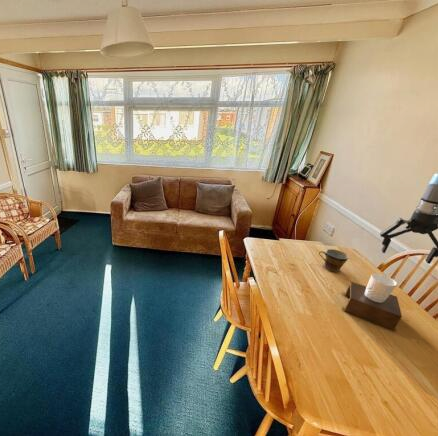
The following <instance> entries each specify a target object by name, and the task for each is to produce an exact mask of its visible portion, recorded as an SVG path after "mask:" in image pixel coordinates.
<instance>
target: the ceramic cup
mask: <svg viewBox="0 0 438 436" xmlns="http://www.w3.org/2000/svg"><path fill="white" fill-rule="evenodd" d="M321 253H323V254H324V256H325V258H324V257H323V256H322V255H321ZM318 255H319V256H320V257H321V258H322V260H323V261H324V268H325V270H328V271H330V272H334V273H337V272H339V271H340V270H341V269H342V267H343V266H344V265H345V264H346V263H347V261H348V259H349V255H348V254H347V253H345V252H344V251H341V250H338V249H333V248H329V249H326V251H322V250H321V251H319V252H318Z"/></svg>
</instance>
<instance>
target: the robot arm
mask: <svg viewBox="0 0 438 436" xmlns="http://www.w3.org/2000/svg"><path fill="white" fill-rule="evenodd" d="M405 224H406V225H405ZM403 225H405V226H403ZM401 226H403V227H402V228H400V227H401ZM398 228H400V229H398ZM436 230H438V172H436V173H434V174H433V175H432V177H431V179H430V181H429V182H428V183H427V186H426V187H425V189H424V192H423V193H422V196H421V198H420V200H419V201H418V204H417V205H416V206H415V210H414V211H413V213H412V214H411V216H410V218H409V219H403V218H402V217H399V218H397V220H396V222H394V223H393V224H391V225H390V226H388V227H387V228H385V229H384V230H382V231H381V232H380V233H379V235H380V237H381V238H382V239H383V240H382V241H381V245H382V248H381V253H382V254H386V251H387V249H388V248H389V246H390V244H391V242H392V239H393V238H395V237H398V236H401V235H403V234H406V233H410V232H412V233H415V234H420V235H427V236H428V237H429V238H430V240H431V241H432V243H433V245H435V246H433V247H432V248H431V250H430V252H429V253H428V255H427V256H426V258H425V260H424V261H425V262H426V264H428V265H430V264H431V263H432V262H433V259H434V258H438V239H437V238H436V236H435V234H434V233H433V232H434V231H436Z"/></svg>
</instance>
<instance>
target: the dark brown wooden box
mask: <svg viewBox="0 0 438 436" xmlns="http://www.w3.org/2000/svg"><path fill="white" fill-rule="evenodd" d="M366 287H367V285H363V284H360V283H357V282H354V281H350V283H349V284H348V287H347V288H346V290H345V293H344V296H345V297H347V298H349V299H348V300H347V303H346V305H345V307H344V309H343V311H344V312H346V313H348V314H351V315H353V316H355V317H358V318H361V319H362V320H365V321H368V322H371V323H373V324H376V325H379V326H381V327H384V328H387V329H389V330H391V331H394V329H395V328H396V326H398V323H399V322H400V321H401V319H402V317H403V314H402V311H401V307H400V302H399V299H398V296H397V295H393V294H392V293H391V294H390V295H389V297H388V298H387V299H386V300H385V302H383V303H378V302H375V301H372V300H370V299H369V298H367V297H366V296H365V295H364V293H365V290H366Z"/></svg>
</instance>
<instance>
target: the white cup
mask: <svg viewBox="0 0 438 436" xmlns="http://www.w3.org/2000/svg"><path fill="white" fill-rule="evenodd" d="M397 285H398V283H397V281H396V280H394V279H393V278H391V277H390V276H387V275H385V274H381V273H372V274H371V275H370V278H369V280H368V282H367V285H366V290H365V293H364V295H365V296H366V297H367V298H369V299H370V300H372V301H375V302H378V303H383V302H385V300H386V299H387V298H388V297H389V295H390V294H391V295H392V292H394V290H395V288H396V287H397Z"/></svg>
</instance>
